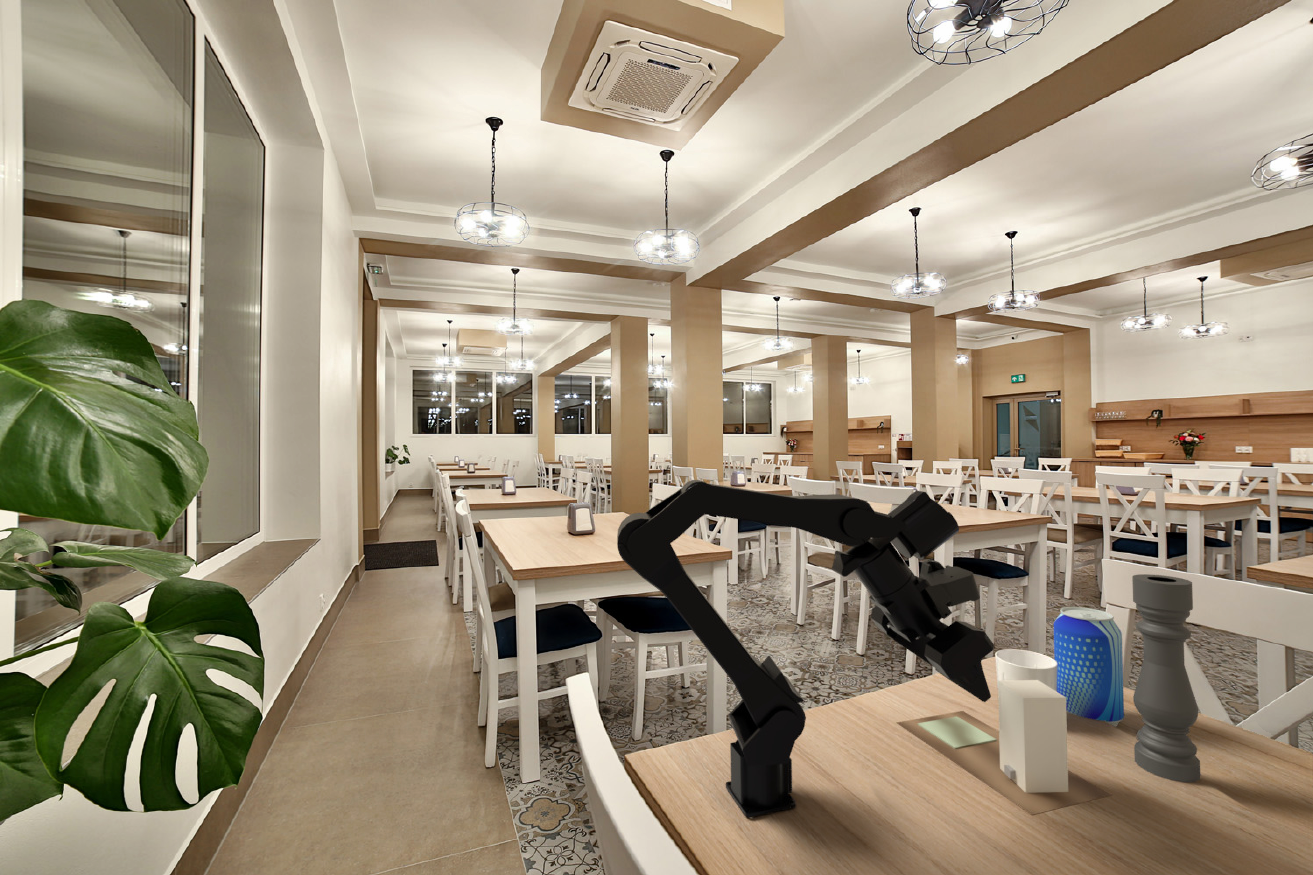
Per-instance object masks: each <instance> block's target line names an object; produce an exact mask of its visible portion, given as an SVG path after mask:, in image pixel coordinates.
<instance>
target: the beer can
mask: <svg viewBox="0 0 1313 875" xmlns="http://www.w3.org/2000/svg"><path fill="white" fill-rule="evenodd" d="M1059 611H1060V613H1059V615H1058V616H1057V617H1056V619H1055V620H1054V622H1053V653H1054V655H1053V656H1054V658H1053V659H1054V660H1055V661H1056V662H1057V663H1058V668H1057V692H1058V693H1060V694H1061V695H1063V696H1064V697H1066V713H1067V712H1068V713H1070V714H1072V715H1074V716H1075V715H1076V716H1078V717H1081V718H1086V719H1090V720H1095V721H1104V722H1106V723H1108V724H1110V725H1111V726H1113V727H1117V726H1118V725H1119V723H1120V722H1121V721H1123V719H1124V718H1125V707H1124V706H1125V704H1124V701H1125V700H1124V667H1123V666H1124V665H1123V664H1124V662H1123V661H1124V660H1123V633H1122V630H1121V629H1120V627H1119V626H1118V624H1117V623H1116V621H1115V620H1114V618H1115V617H1114V616H1113V614H1112V613H1109V612H1107V611H1104V610H1099V609H1094V608H1088V607H1082V606H1081V607H1080V606H1066V607H1062V608H1060V610H1059Z"/></svg>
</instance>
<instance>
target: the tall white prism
mask: <svg viewBox="0 0 1313 875" xmlns="http://www.w3.org/2000/svg"><path fill="white" fill-rule="evenodd" d="M997 695H998V698H997V699H998V702H997V703H998V731H999V745H1000V769H1001V770H1002V771H1003V772H1004V773H1005V774H1006V775H1007V776H1008V777H1009V778H1010V779H1012V780H1013V781H1014V782H1015V783H1016V784H1017V785H1018V786H1019V787H1020V788H1021V789H1022V790H1023V791H1024V792H1026V793H1035V792H1068V770H1069V768H1068V766H1069V764H1068V763H1069V762H1068V759H1069V758H1068V731H1067V730H1068V727H1067V711H1066V697H1064V696H1063V695H1061V694H1060V693H1058V692H1056V691H1055V690H1053V689H1051V688H1050V687H1048V686H1047V685H1045V684H1043V683H1042V682H1040V681H1038V680H1008V681H998V686H997Z"/></svg>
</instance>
